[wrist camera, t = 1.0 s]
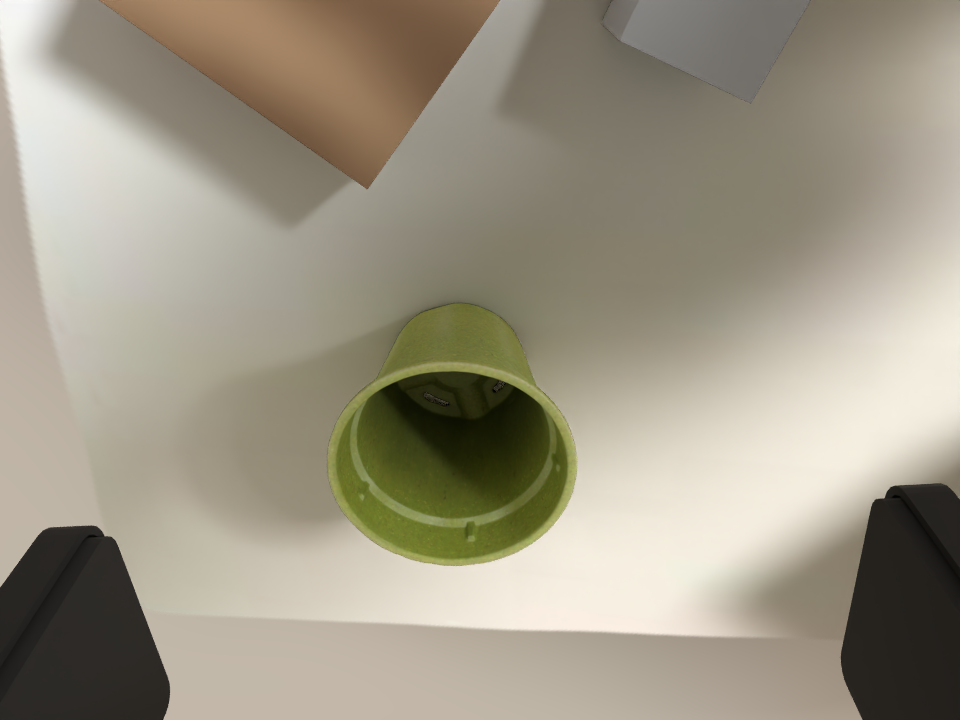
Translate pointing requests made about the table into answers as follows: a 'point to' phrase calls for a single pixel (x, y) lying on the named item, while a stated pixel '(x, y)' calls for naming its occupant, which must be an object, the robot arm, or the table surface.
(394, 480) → the plant pot
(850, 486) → the table surface
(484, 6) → the walnut block
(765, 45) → the grey cube
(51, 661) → the robot arm
